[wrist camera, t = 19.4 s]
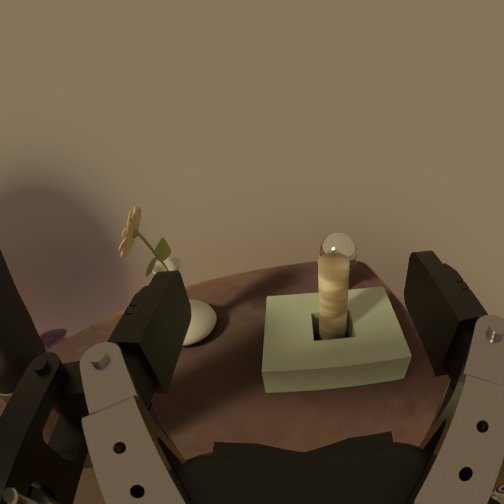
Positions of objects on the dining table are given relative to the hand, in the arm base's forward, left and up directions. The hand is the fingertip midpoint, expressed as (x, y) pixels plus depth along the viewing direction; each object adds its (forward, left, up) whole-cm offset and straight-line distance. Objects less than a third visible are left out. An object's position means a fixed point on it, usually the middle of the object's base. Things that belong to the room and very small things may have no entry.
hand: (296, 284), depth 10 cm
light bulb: (+8, +39, -30) cm, 50 cm away
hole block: (+5, +24, -30) cm, 39 cm away
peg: (+5, +24, -30) cm, 39 cm away
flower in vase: (-20, +29, -30) cm, 46 cm away
